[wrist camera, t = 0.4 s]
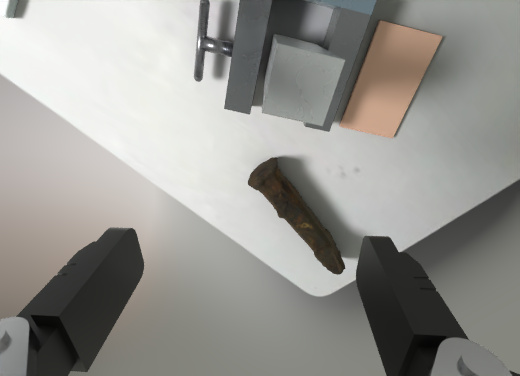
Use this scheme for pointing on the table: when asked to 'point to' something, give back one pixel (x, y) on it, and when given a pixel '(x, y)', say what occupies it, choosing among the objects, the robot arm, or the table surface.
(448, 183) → the table surface
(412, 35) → the mat
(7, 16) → the external hard drive
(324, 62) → the steel bar
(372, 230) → the table surface
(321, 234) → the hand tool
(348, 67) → the vise
